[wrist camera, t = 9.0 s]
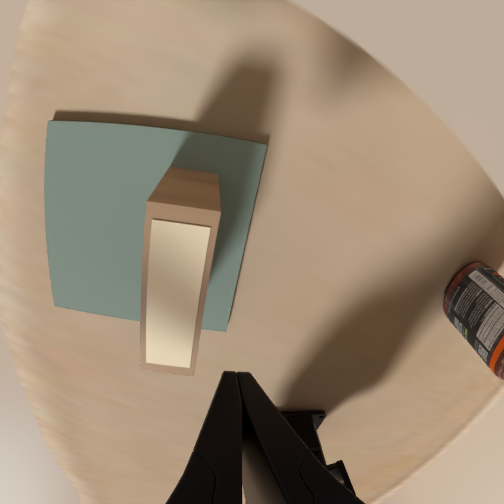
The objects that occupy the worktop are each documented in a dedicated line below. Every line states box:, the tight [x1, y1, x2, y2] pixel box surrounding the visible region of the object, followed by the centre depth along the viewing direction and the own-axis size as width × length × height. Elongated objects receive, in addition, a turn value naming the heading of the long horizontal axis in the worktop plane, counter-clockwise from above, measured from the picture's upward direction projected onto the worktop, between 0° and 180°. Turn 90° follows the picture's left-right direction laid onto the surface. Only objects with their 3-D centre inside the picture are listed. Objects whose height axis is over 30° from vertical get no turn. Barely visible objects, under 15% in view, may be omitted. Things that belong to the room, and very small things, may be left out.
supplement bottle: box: [443, 262, 504, 380], centre depth 18 cm, size 6×6×11 cm
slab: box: [140, 167, 221, 376], centre depth 14 cm, size 8×2×6 cm, turn 167°
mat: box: [45, 120, 267, 332], centre depth 17 cm, size 12×12×1 cm
